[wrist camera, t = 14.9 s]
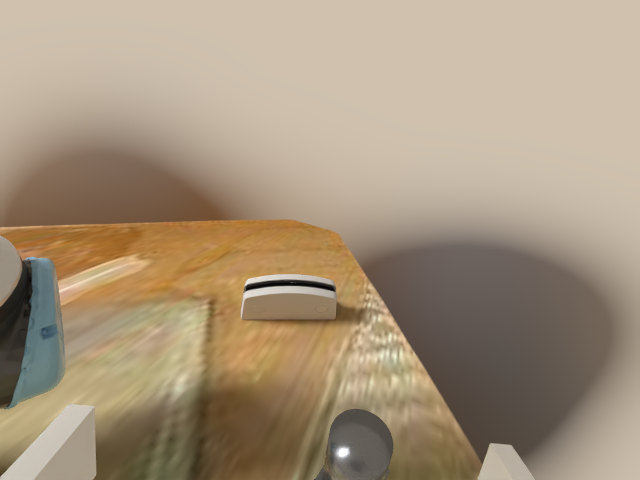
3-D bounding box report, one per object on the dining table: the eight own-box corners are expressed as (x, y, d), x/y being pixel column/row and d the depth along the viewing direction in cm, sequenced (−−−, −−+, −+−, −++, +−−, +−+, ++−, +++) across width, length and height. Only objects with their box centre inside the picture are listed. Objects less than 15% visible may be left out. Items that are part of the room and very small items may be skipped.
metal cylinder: (308, 513, 29) (317, 445, 25) (335, 464, 33) (348, 398, 29) (357, 554, 27) (377, 488, 23) (381, 497, 31) (402, 431, 27)
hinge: (332, 301, 62) (341, 269, 55) (335, 324, 59) (344, 292, 52) (242, 301, 60) (239, 267, 53) (240, 324, 57) (236, 291, 50)
